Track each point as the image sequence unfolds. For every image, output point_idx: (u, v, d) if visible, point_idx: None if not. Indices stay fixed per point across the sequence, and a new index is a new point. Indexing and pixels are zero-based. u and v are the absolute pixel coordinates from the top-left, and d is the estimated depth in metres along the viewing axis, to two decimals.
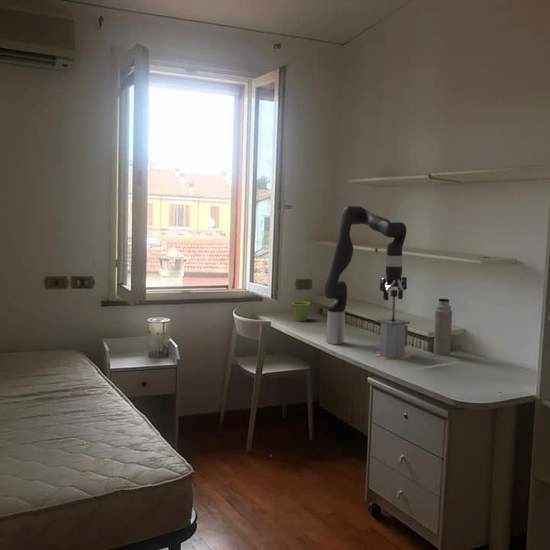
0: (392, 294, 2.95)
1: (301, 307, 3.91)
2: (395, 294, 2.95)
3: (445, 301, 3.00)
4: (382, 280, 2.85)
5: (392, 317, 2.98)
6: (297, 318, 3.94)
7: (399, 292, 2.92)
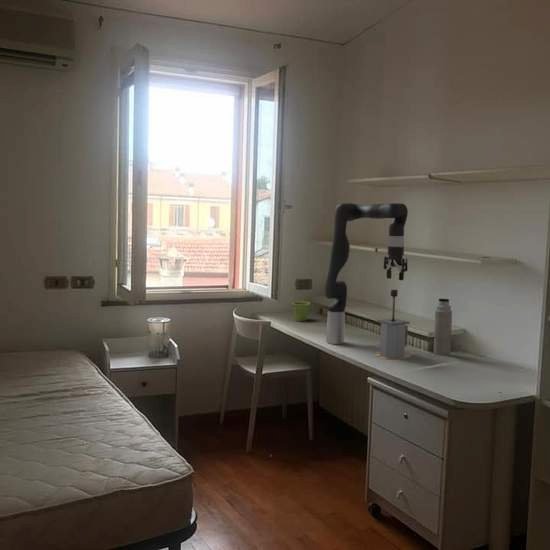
0: (392, 294, 2.95)
1: (301, 307, 3.91)
2: (395, 294, 2.95)
3: (445, 301, 3.00)
4: (405, 260, 2.89)
5: (392, 317, 2.98)
6: (297, 318, 3.94)
7: (389, 272, 2.99)
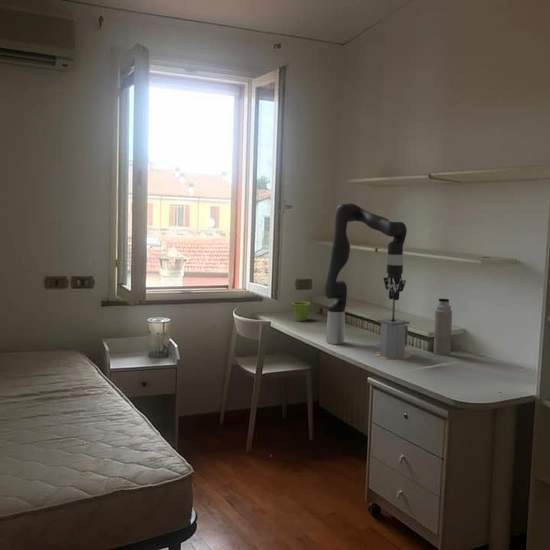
0: (392, 294, 2.95)
1: (301, 307, 3.91)
2: None
3: (445, 301, 3.00)
4: (403, 282, 2.90)
5: (392, 317, 2.98)
6: (297, 318, 3.94)
7: None
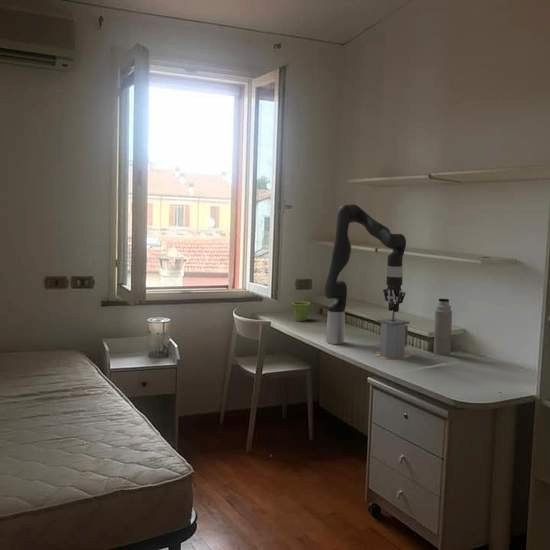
0: (392, 306, 2.96)
1: (301, 307, 3.91)
2: None
3: (445, 301, 3.00)
4: (403, 294, 2.91)
5: None
6: (297, 318, 3.94)
7: None
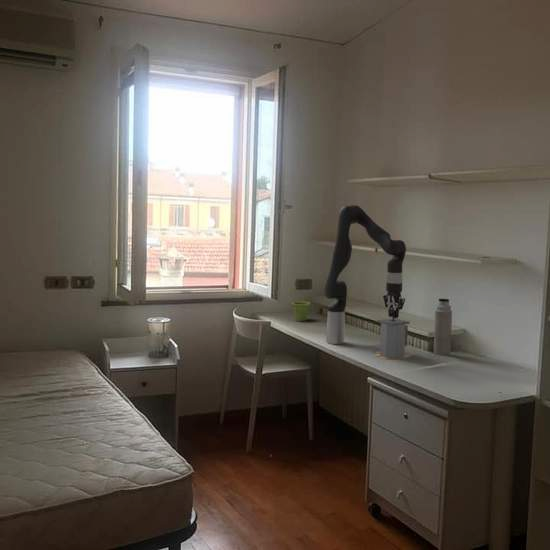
0: (392, 312, 2.96)
1: (301, 307, 3.91)
2: None
3: (445, 301, 3.00)
4: (403, 301, 2.91)
5: None
6: (297, 318, 3.94)
7: None
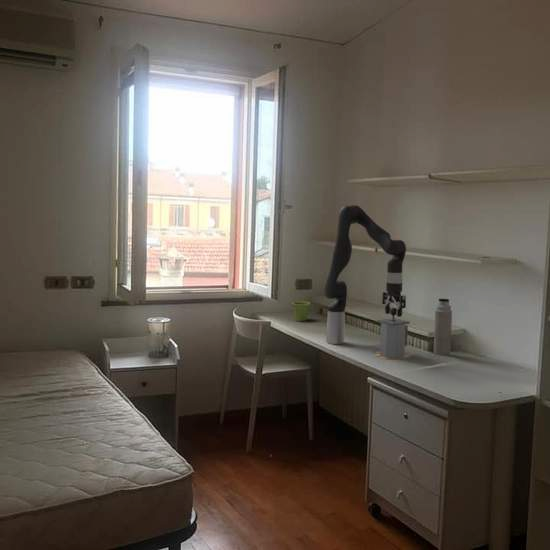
0: (392, 312, 2.96)
1: (301, 307, 3.91)
2: (394, 312, 2.96)
3: (445, 301, 3.00)
4: (404, 297, 2.91)
5: None
6: (297, 318, 3.94)
7: (387, 307, 3.01)
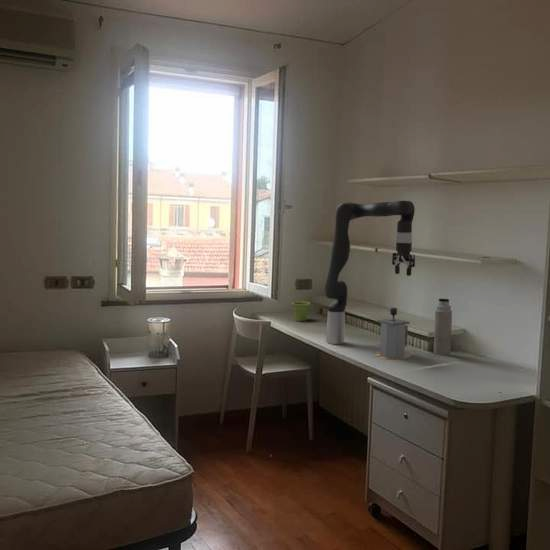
0: (392, 312, 2.96)
1: (301, 307, 3.91)
2: (394, 312, 2.96)
3: (445, 301, 3.00)
4: (413, 256, 2.97)
5: None
6: (297, 318, 3.94)
7: (397, 267, 3.07)
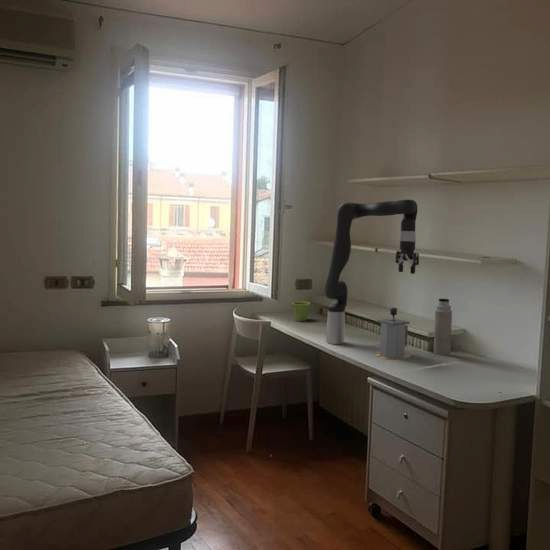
0: (392, 312, 2.96)
1: (301, 307, 3.91)
2: (394, 312, 2.96)
3: (445, 301, 3.00)
4: (417, 254, 3.00)
5: None
6: (297, 318, 3.94)
7: (401, 265, 3.10)
